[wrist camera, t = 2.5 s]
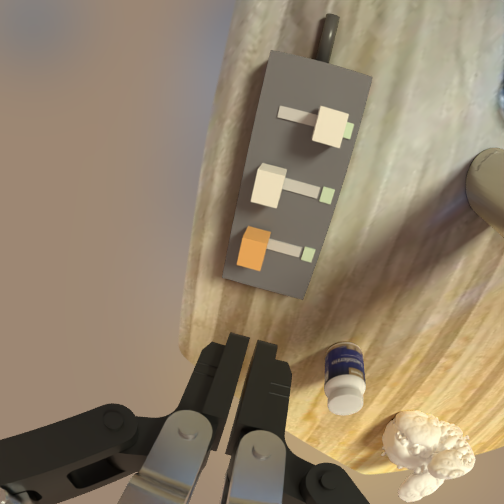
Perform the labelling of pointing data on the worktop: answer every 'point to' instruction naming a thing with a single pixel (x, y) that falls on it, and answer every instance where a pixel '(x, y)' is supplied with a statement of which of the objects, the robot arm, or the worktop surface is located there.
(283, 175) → the switch
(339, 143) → the switch
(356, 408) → the pill bottle
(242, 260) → the switch
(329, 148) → the slider control box
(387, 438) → the white plaster sculpture
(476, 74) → the worktop surface
